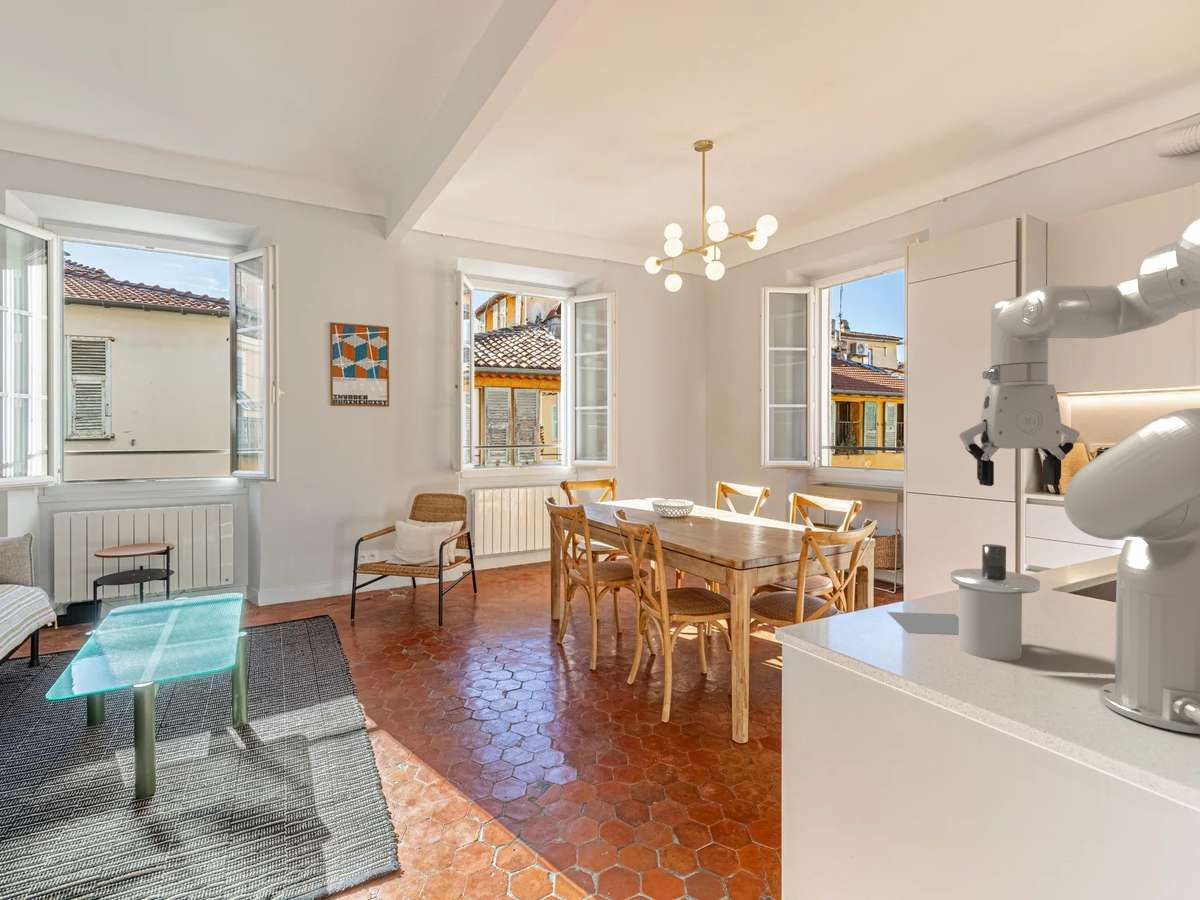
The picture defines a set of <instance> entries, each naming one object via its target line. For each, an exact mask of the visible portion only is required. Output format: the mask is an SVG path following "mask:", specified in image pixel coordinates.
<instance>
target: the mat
mask: <svg viewBox="0 0 1200 900" xmlns="http://www.w3.org/2000/svg"><path fill="white" fill-rule="evenodd" d="M887 614H888V615H889V616H890V617H891V618H892V619H894V621H896V623H897V624H898V625H899V626H900V627H902V629H904V630H905V631H906V633H908V634H922V635H923V634H927V635H932V634H933V635H954V636H955V635H956V636H957V635H958V636H959V615H956V613H931V612H929V613H928V612H925V613H924V612H900V611H899V612H898V611H897V612H896V611H895V612H894V611H887Z"/></svg>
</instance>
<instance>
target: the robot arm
mask: <svg viewBox="0 0 1200 900" xmlns="http://www.w3.org/2000/svg"><path fill="white" fill-rule="evenodd" d="M1198 309H1200V214H1199V215H1198V216H1197V217H1195V218H1194V219H1193V220H1192V221H1191V222H1190V223H1189V224H1188V225H1187V226H1186V227H1185V228H1184V230H1183V231H1182V232H1181V234H1180V236H1179V238H1178V240H1177V241H1174V242H1171V243H1168V244H1165V245H1162V246H1160V247H1157V248H1155V249H1153V250H1151V251H1150V252H1149V253H1148V254H1147V255H1146V256H1145V257H1144V258H1143V260H1142V261H1141V263H1140V264H1139V267H1138V269H1137V275H1136V277H1134V278H1131V279H1129V280H1124V281H1121V282H1117V283H1114V284H1110V285H1105V286H1099V285H1097V286H1096V285H1075V284H1074V285H1066V284H1065V285H1062V284H1051V285H1045V286H1044V285H1043V286H1039V287H1037V288H1034V289H1032V290H1030V291H1028V292H1026V293H1024V294H1022V295H1020V296H1016V297H1011V298H1004V299H1002V300H999V301H997V302H996V303H995V304H993V306H992V308H991V310H990V311H991V312H990V367H989V369H988V370H984V371H982V375H981V377H982V379H983V380H989V384H990V386H988V387H986V390H985V394H984V399H983V403H982V408H981V414H980V415H981V417H980V423H978V424H976V425H974V426H972V427H970V428H968V429H965V430H964V431H961V432H960V433H959V438H960V439H961V441H962V444H963V445H964V446H965V450H966V451H967V452H968V453H969V454H971V456H972V457H973V459H974V460H976V469H977V470H976V477H977V480H978V483H979V485H981V486H987V487H992V486H993V485H995V484H994V483H995V481H994V480H995V476H994V475H995V464H994V463H995V462H994V461H993V460H991V458H992V457H993V456H994V455H995V453H996V452H997V451H998V450H999V449H1008V450H1009V449H1015V450H1016V449H1038V450H1039V451H1040V452H1042V453H1043V455H1044V456H1045V457H1046V459H1043V460H1042V484H1044V485H1047V486H1055V487H1056V486H1057V487H1058V486H1059V485H1060V480H1061V478H1062V461H1063V460H1065V458H1066V456H1067V455H1068V454H1069V453H1070V452H1071V451H1072V450H1073V449H1074V445H1075V444H1076V442H1077V441H1078V439H1079V437H1080V434H1081V433H1080V432H1079V431H1078V430H1077V429H1075V428H1072V427H1070V426H1067V425H1066V424H1063V423H1062V422H1061V421H1062V419H1061V410H1060V403H1059V399H1058V393H1057V390H1056V387H1055V384H1049V339H1092V340H1093V339H1103V338H1109V337H1110V338H1111V337H1114V336H1119V335H1123V334H1128V333H1132V332H1138V331H1142V330H1147V329H1149V328H1152V327H1156V326H1159V325H1162V324H1164V323H1166V322H1168V321H1170V320H1171V319H1174V318H1175V317H1178V316H1179V315H1180V314H1182V313H1187V312H1190V311H1195V310H1198ZM976 436H980V443H981V446H979V445H978V444H977V443H976V442H975V441H976V440H975V439H974V438H975V437H976ZM1062 437H1063V439H1062ZM1063 507H1064V511H1065V513H1066V514H1065V515H1066V516H1067V519H1068V520H1069V521H1070V522H1071V523H1072V525H1074V527H1075V528H1076V529H1078V530H1080V531H1081V532H1082V533H1085V534H1086V535H1089V536H1091V537H1094V538H1097V539H1101V540H1106V541H1109V540H1110V541H1124V544H1123V546H1122V548H1121V551H1120V554H1119V557H1118V561H1117V567H1116V584H1115V585H1116V587H1115V588H1116V597H1115V656H1114V657H1115V659H1114V662H1115V665H1114V666H1115V668H1114V682H1112V683H1111V682H1109V683H1106V684H1104V685H1102V686H1101V687H1099V691H1098V692H1099V699H1100V701H1101V702H1102V703H1103V704H1104V705H1105V706H1106V707H1108V709H1110V710H1112V711H1114V712H1115V713H1118V714H1119V715H1122V716H1123V717H1125V718H1129V719H1132V720H1133V721H1137V722H1140V723H1142V724H1146V725H1150V726H1154V727H1156V728H1161V729H1165V730H1170V731H1174V732H1180V733H1186V734H1194V735H1200V407H1191V408H1183V409H1179V410H1175V411H1171V412H1168V413H1166V414H1163V415H1161V416H1158V417H1156V418H1154V419H1152V420H1150V421H1148V422H1147V423H1144V424H1143V425H1141V426H1139V428H1136V429H1135V430H1133V431H1132V432H1131V433H1129V434H1128V435H1127V436H1125V437H1124V438H1122V439H1121V440H1119V441H1118V442H1117V443H1115V444H1114V445H1112V446H1111V447H1109V448H1108V449H1105V450H1104V451H1102V452H1101V453H1100V454H1098V455H1097V456H1095V458H1093V459H1092V460H1090V461H1089V462H1087V463H1086V464H1084V465H1083V466H1082V467H1081V468H1080V469H1079V470H1078V471H1077V472H1075V474H1074V475H1072V477H1071V479H1070V480H1069V482H1068V483H1067V485H1066V488H1065V491H1064V495H1063Z"/></svg>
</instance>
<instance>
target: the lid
mask: <svg viewBox="0 0 1200 900" xmlns="http://www.w3.org/2000/svg"><path fill="white" fill-rule="evenodd" d="M981 548H982V551H981V552H982V555H981V557H982V558H981V559H982V560H981V561H982V562H981V564H982V566H981V568H963V569H961V568H960V569H957V570H953V571H951V572H950V581H951V583H953V584H956V585H958V586H959V585H960V586H963V587H967V588H971V589H976V590H982V591H988V592H997V593H1015V594H1019V593H1022V594H1032V593H1036V592H1038V591H1040V589H1041V581H1040V580H1039V579H1038V578H1036V577H1033V576H1030V575H1027V574H1023V573H1018V572H1015V571H1008V570H1007V546H1005V545H1000V544H994V543H993V544H990V543H988V544H982V547H981Z"/></svg>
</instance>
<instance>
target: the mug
mask: <svg viewBox="0 0 1200 900" xmlns="http://www.w3.org/2000/svg"><path fill="white" fill-rule="evenodd" d="M1022 603H1023V593H1019V594H1015V593H997V592H988V591H982V590H976V589H971V588H967V587H963V586H960V585H958V617H959V635H958V637H957V638H958V641H957V644H958V648H959V650H960V651H962V652H964V653H966V654H968V655H971V656H974V657H977V658H982V659H986V660H987V659H988V660H993V661H994V660H995V661H1015V660H1020V659H1021V658H1022V656H1023V649H1022V648H1023V647H1022V646H1023V645H1022V644H1023V643H1022V639H1023V638H1022V636H1023V635H1022V630H1023V629H1022V626H1023V625H1022V624H1023V622H1022V617H1023V616H1022V615H1023V606H1022V605H1023V604H1022Z"/></svg>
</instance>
